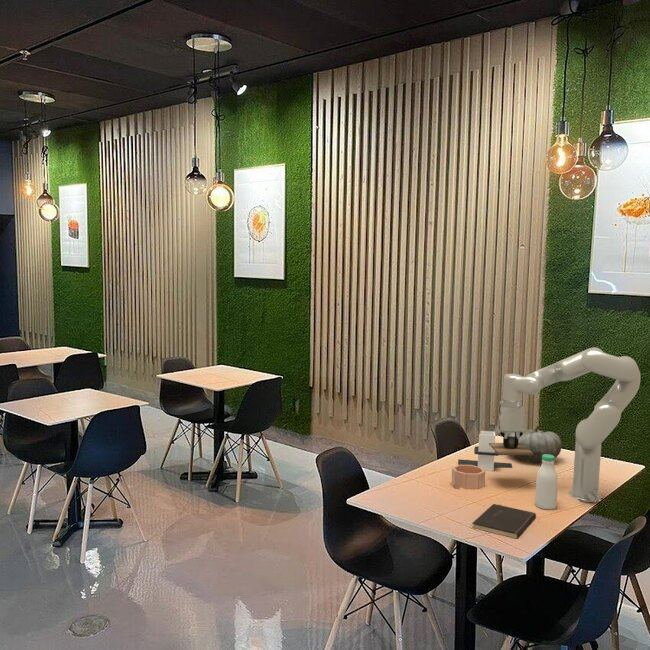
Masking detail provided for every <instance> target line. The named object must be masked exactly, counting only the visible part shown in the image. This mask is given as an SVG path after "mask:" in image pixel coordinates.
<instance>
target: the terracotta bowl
mask: <svg viewBox="0 0 650 650" xmlns="http://www.w3.org/2000/svg"><path fill="white" fill-rule="evenodd" d="M451 485H452V487H453V488H454V489H457V490H461V489H464V490H479V489H482V488H483V487H485V485H486V470H484V469H483V468H481V467H477V466H473V465H458V464H457V465H455V466H452V467H451ZM460 488H461V489H460Z"/></svg>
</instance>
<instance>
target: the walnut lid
mask: <svg viewBox="0 0 650 650" xmlns="http://www.w3.org/2000/svg"><path fill="white" fill-rule="evenodd" d="M507 439H508V448H505V447H504V445H503V442H495V443H489V445H490V446H491V447H492V448H493V449H494V450H495V451H496V453H497V454H498V455H499V456H513V455H533V453H532V452H531V451H530V450H529V449H528V448H527V447H525V446H524V445H523V444H522V443H518V446H517V448H515V437H512V436H508V438H507Z"/></svg>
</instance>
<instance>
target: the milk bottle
mask: <svg viewBox="0 0 650 650" xmlns="http://www.w3.org/2000/svg"><path fill="white" fill-rule="evenodd" d="M555 459H556V458H555V457H554V456H553V455H549V454H544V455H542V462H541V466H540V468H539V469H538V471H537V474H536V483H535V497H534V498H535V499H534V500H535V501H534V505H535V506H536V507H537V508H539V509H543V510H549V511H550V510H555V509H556V508H557V503H558V500H557V499H558V498H557V497H558V481H559V480H558V472H557V471H556V467H555Z"/></svg>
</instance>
